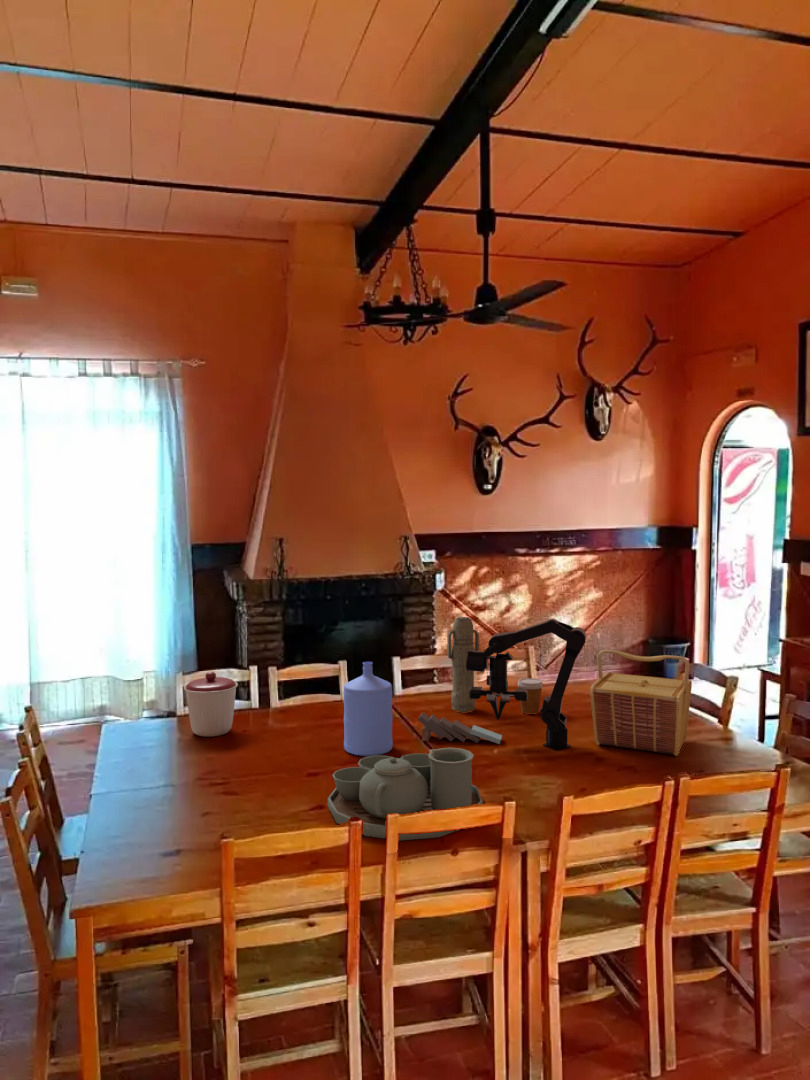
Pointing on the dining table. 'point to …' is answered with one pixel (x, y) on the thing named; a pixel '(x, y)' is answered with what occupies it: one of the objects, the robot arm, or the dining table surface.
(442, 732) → the domino
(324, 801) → the dining table surface
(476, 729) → the teal domino
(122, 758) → the dining table surface
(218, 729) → the canister
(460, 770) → the tea set
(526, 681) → the disposable coffee cup
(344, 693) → the water jug
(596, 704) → the picnic basket
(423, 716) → the domino
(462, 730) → the domino
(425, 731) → the end block
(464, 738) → the domino
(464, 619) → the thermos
